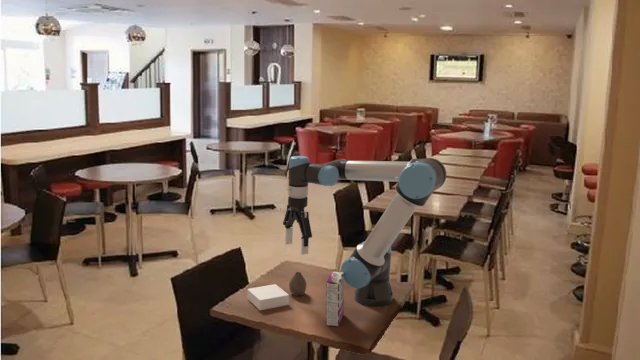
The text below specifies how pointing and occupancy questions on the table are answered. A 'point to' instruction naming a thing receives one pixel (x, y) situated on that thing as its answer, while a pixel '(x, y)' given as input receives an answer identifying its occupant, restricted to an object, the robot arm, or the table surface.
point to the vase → (297, 284)
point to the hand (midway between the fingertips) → (296, 248)
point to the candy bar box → (334, 298)
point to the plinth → (267, 297)
